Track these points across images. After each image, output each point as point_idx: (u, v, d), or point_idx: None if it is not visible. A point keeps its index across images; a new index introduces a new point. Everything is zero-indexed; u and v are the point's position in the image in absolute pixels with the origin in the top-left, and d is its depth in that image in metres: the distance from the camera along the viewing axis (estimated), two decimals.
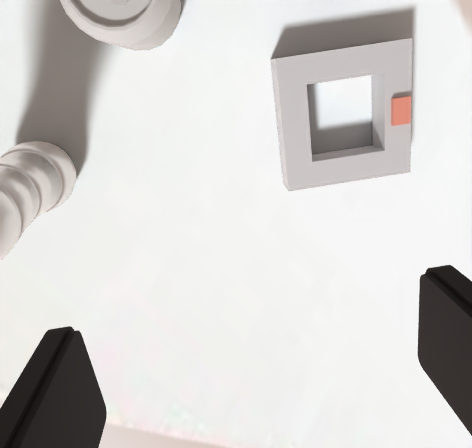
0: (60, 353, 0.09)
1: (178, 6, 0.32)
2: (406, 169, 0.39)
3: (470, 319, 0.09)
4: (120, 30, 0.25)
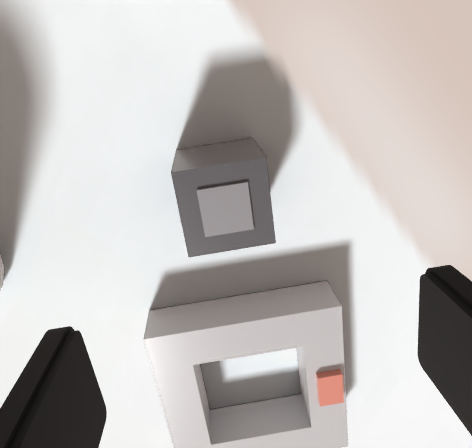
0: (60, 353, 0.09)
1: None
2: (342, 444, 0.29)
3: (470, 319, 0.09)
4: None
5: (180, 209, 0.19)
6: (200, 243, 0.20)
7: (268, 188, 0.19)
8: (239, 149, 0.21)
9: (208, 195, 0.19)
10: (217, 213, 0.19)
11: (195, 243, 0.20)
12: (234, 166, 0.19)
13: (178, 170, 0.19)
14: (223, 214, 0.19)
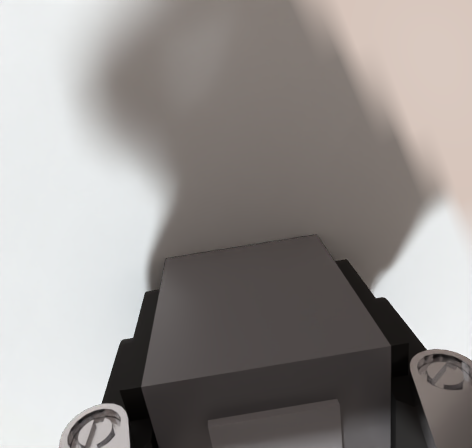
0: None
1: None
2: None
3: None
4: None
5: None
6: None
7: (387, 410, 0.08)
8: (302, 284, 0.09)
9: (237, 435, 0.07)
10: None
11: None
12: (307, 367, 0.07)
13: (161, 378, 0.07)
14: None
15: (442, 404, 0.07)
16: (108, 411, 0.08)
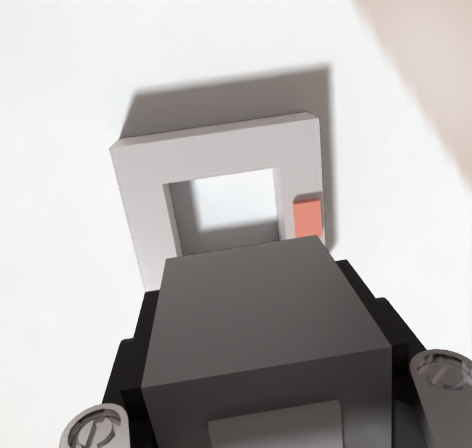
0: None
1: None
2: None
3: None
4: None
5: None
6: None
7: (388, 411, 0.08)
8: (303, 285, 0.09)
9: (238, 437, 0.07)
10: None
11: None
12: (308, 369, 0.07)
13: (161, 379, 0.07)
14: None
15: (442, 404, 0.07)
16: (108, 411, 0.08)
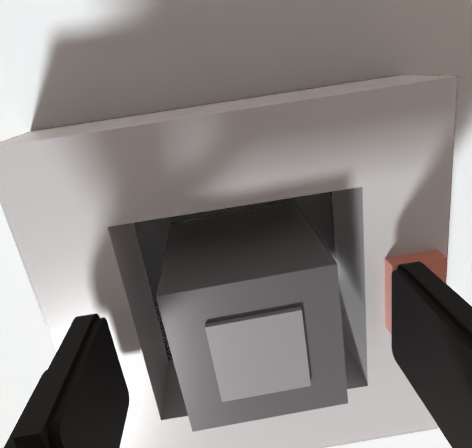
0: (90, 338, 0.10)
1: None
2: (427, 423, 0.14)
3: (433, 312, 0.09)
4: None
5: (175, 357, 0.10)
6: (213, 409, 0.11)
7: (339, 316, 0.10)
8: (278, 232, 0.12)
9: (227, 335, 0.10)
10: (244, 360, 0.11)
11: (204, 410, 0.11)
12: (277, 281, 0.10)
13: (170, 291, 0.10)
14: (255, 365, 0.10)
15: None
16: None
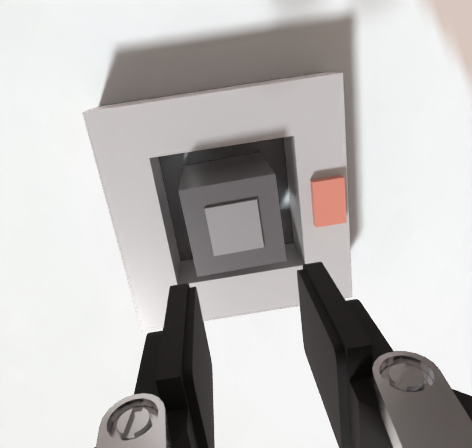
0: (190, 303, 0.11)
1: None
2: (345, 293, 0.23)
3: (315, 308, 0.10)
4: None
5: (188, 228, 0.19)
6: (209, 262, 0.19)
7: (278, 205, 0.19)
8: (247, 165, 0.20)
9: (216, 214, 0.18)
10: (226, 231, 0.19)
11: (204, 262, 0.19)
12: (243, 183, 0.18)
13: (185, 188, 0.18)
14: (232, 233, 0.19)
15: (406, 407, 0.07)
16: (144, 401, 0.08)
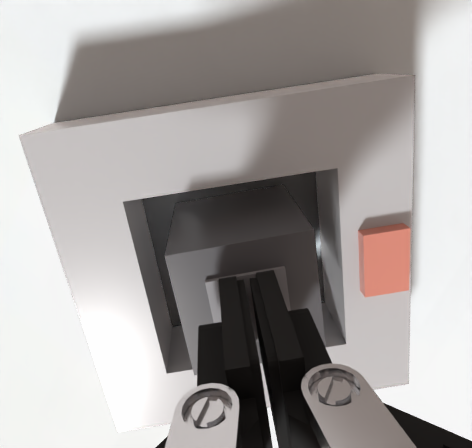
0: (242, 295, 0.11)
1: None
2: (399, 379, 0.17)
3: (258, 318, 0.10)
4: None
5: (180, 309, 0.12)
6: None
7: (316, 275, 0.12)
8: (267, 208, 0.14)
9: None
10: None
11: None
12: (264, 243, 0.12)
13: (176, 252, 0.12)
14: None
15: (339, 423, 0.07)
16: (214, 391, 0.08)
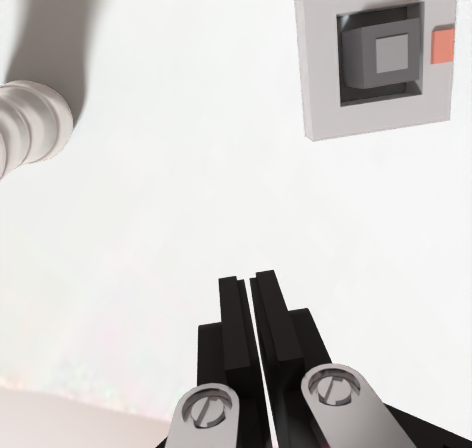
0: (242, 295, 0.11)
1: None
2: (445, 117, 0.35)
3: (258, 319, 0.10)
4: None
5: (363, 53, 0.31)
6: (372, 78, 0.31)
7: (418, 39, 0.31)
8: None
9: (382, 43, 0.30)
10: (385, 56, 0.31)
11: (369, 78, 0.31)
12: (400, 23, 0.30)
13: None
14: (390, 57, 0.31)
15: (339, 423, 0.07)
16: (214, 390, 0.08)
